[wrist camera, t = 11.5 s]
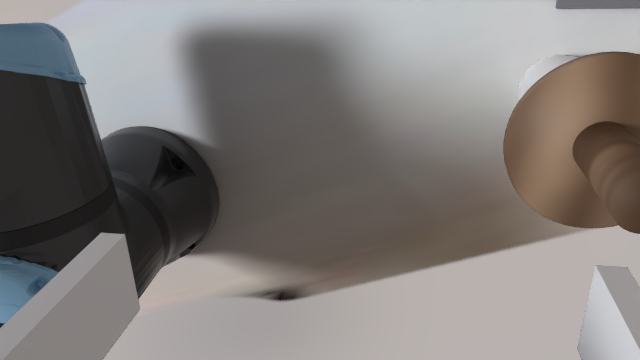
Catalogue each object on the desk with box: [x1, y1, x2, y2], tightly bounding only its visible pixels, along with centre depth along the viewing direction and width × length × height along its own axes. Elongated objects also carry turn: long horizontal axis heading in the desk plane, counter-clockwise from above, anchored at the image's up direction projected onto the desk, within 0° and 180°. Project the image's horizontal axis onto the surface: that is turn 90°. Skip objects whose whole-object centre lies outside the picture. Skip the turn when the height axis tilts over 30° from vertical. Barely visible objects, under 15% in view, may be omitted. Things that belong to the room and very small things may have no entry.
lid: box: [504, 52, 640, 234], centre depth 32 cm, size 12×12×9 cm
